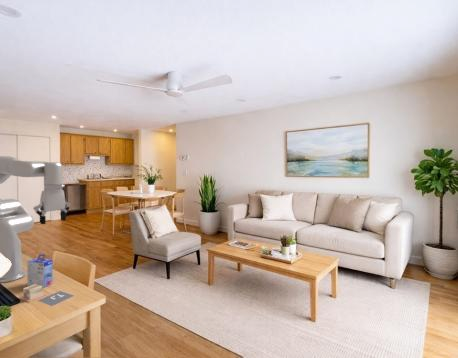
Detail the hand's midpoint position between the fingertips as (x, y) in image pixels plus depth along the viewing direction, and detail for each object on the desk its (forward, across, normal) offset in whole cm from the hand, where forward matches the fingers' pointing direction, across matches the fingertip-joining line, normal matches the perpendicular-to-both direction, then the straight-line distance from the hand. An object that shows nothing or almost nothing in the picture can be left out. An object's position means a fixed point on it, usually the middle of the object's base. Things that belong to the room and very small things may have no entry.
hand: (53, 222), depth 135 cm
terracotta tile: (+30, +14, +8) cm, 34 cm away
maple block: (+30, +14, +8) cm, 34 cm away
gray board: (+30, +9, +18) cm, 36 cm away
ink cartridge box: (+31, +5, -2) cm, 31 cm away
